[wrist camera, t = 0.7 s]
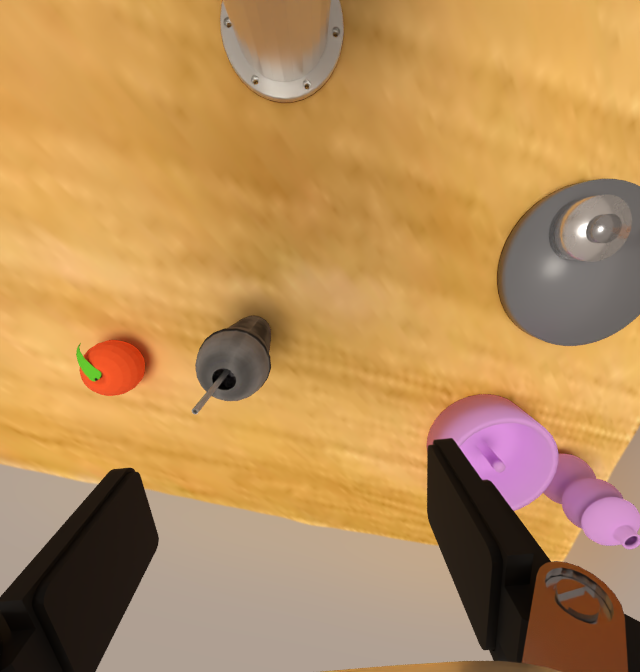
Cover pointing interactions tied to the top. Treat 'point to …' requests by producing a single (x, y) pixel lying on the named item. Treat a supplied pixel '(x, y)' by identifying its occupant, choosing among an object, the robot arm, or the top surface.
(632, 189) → the grey domed disc
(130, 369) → the tomato
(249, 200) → the top surface
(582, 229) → the cover
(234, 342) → the beverage cup
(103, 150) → the top surface
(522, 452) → the container set
